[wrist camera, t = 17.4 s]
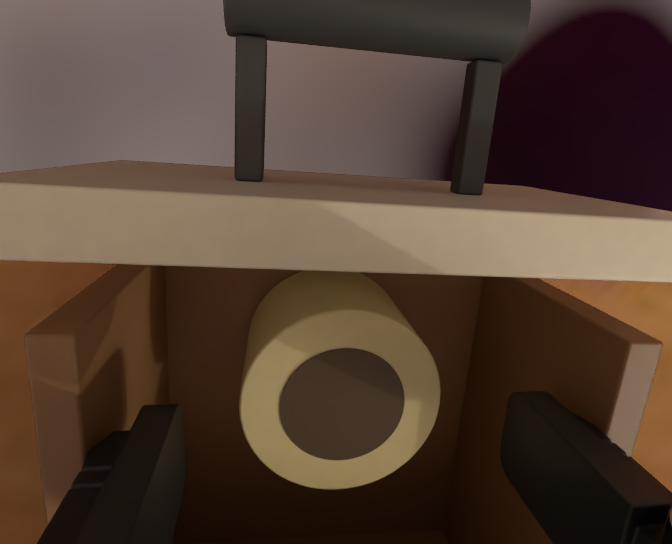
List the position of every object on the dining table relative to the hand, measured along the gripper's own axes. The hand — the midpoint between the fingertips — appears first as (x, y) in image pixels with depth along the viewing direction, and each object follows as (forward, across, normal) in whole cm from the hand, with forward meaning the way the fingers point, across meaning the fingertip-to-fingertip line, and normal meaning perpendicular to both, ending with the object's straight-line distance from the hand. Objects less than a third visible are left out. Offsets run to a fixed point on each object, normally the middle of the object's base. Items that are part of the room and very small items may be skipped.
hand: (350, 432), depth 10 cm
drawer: (+6, 0, 0) cm, 6 cm away
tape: (+5, 0, 0) cm, 5 cm away
